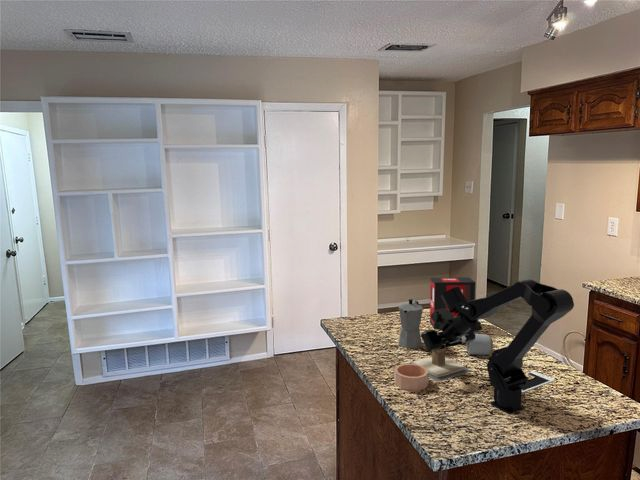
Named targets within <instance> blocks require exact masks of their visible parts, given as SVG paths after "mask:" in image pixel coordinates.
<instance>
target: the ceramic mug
mask: <svg viewBox="0 0 640 480" xmlns="http://www.w3.org/2000/svg"><path fill="white" fill-rule="evenodd" d="M465 343H466V342H465ZM493 343H494V342H493V338H492V336H491V335H488V334H484V333H483V334H481V333H475V339H474V340H473V341H472V342H467V343H466V345H465V347H466V352H468V353H467V355H471V356H472V355H473V356H475V355H476V356H491V355H492V353H493V351H494V350H493V349H494V344H493Z"/></svg>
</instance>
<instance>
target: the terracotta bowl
mask: <svg viewBox="0 0 640 480" xmlns="http://www.w3.org/2000/svg"><path fill="white" fill-rule="evenodd" d="M393 372H394V374H393V375H394V376H393V377H394V379H393V380H394V384H395V386H396V387H398V388H399V389H401V390H405V391H411V392H413V391H422V390H425V389H426V388H427V387H428V386H429V377H428V376H429V372H428V370H427V368H425V367H423V366H421V365H416V364H410V363H402V364H399V365H397V366H396V367H394V371H393Z"/></svg>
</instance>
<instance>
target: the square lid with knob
mask: <svg viewBox="0 0 640 480" xmlns="http://www.w3.org/2000/svg"><path fill="white" fill-rule="evenodd" d="M445 345H446V344H445ZM445 345H444V346H445ZM412 363H413V364H416V365H421V366H423V367H425V368H427V370H428V372H429V373H430V374H432V375H434V376H435V377H437V378H438V377H442V376H445V375H448V374H452V373H455V372H458V371H461V370H465V368H466V366H465V365H463V364H462V363H458V362H457V361H454V360H452V359H450V358H448V357H447V356H446V347H445V348H444V349H440V350H435V351H431V356H428V357H424V358H420V359H416V360H414V361H412Z"/></svg>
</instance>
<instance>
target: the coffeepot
mask: <svg viewBox="0 0 640 480" xmlns="http://www.w3.org/2000/svg"><path fill="white" fill-rule="evenodd" d="M423 309H424V308H423V306H422V305H420V303H419V301H417V300H415V301H414V302H413V298H412V299H411V298H410V299H408V303H402V304H400V305H398V312H399V319H400V325H401V328H400V333H399V338H398V346H399V347H400V348H406V349H418V348H421V347H423V344H422V343H423V342H422V338H421V331H420V325H421V324H422V323H421V322H422V317H423V316H422V315H423Z"/></svg>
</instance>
